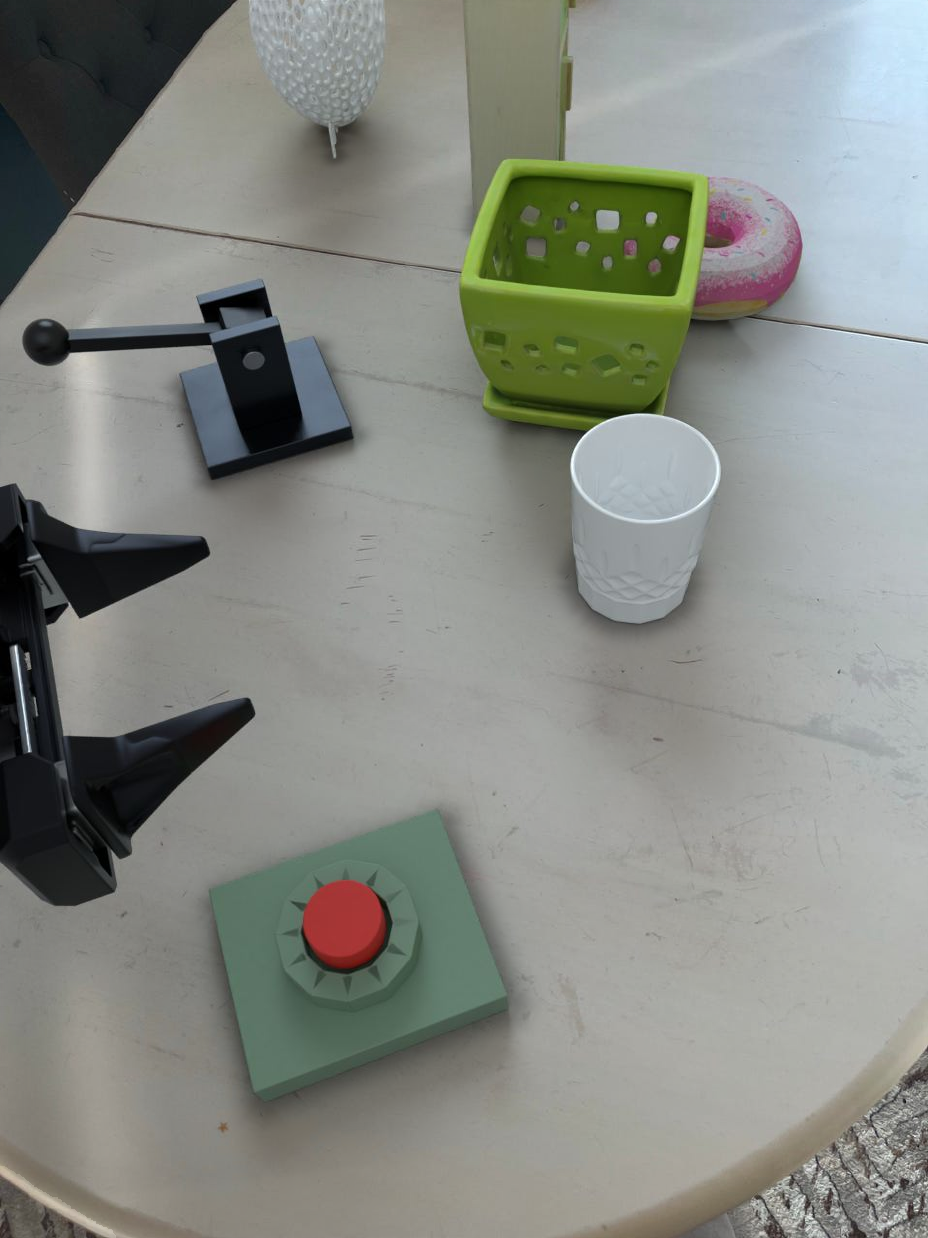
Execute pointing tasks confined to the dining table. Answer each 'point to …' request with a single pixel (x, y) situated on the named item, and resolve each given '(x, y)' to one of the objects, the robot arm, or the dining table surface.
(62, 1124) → the dining table surface
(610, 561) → the white cup
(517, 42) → the toy refrigerator
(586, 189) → the flower pot
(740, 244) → the donut
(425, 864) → the button housing
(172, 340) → the lever with ball knob
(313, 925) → the button
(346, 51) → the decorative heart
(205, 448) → the lever base
